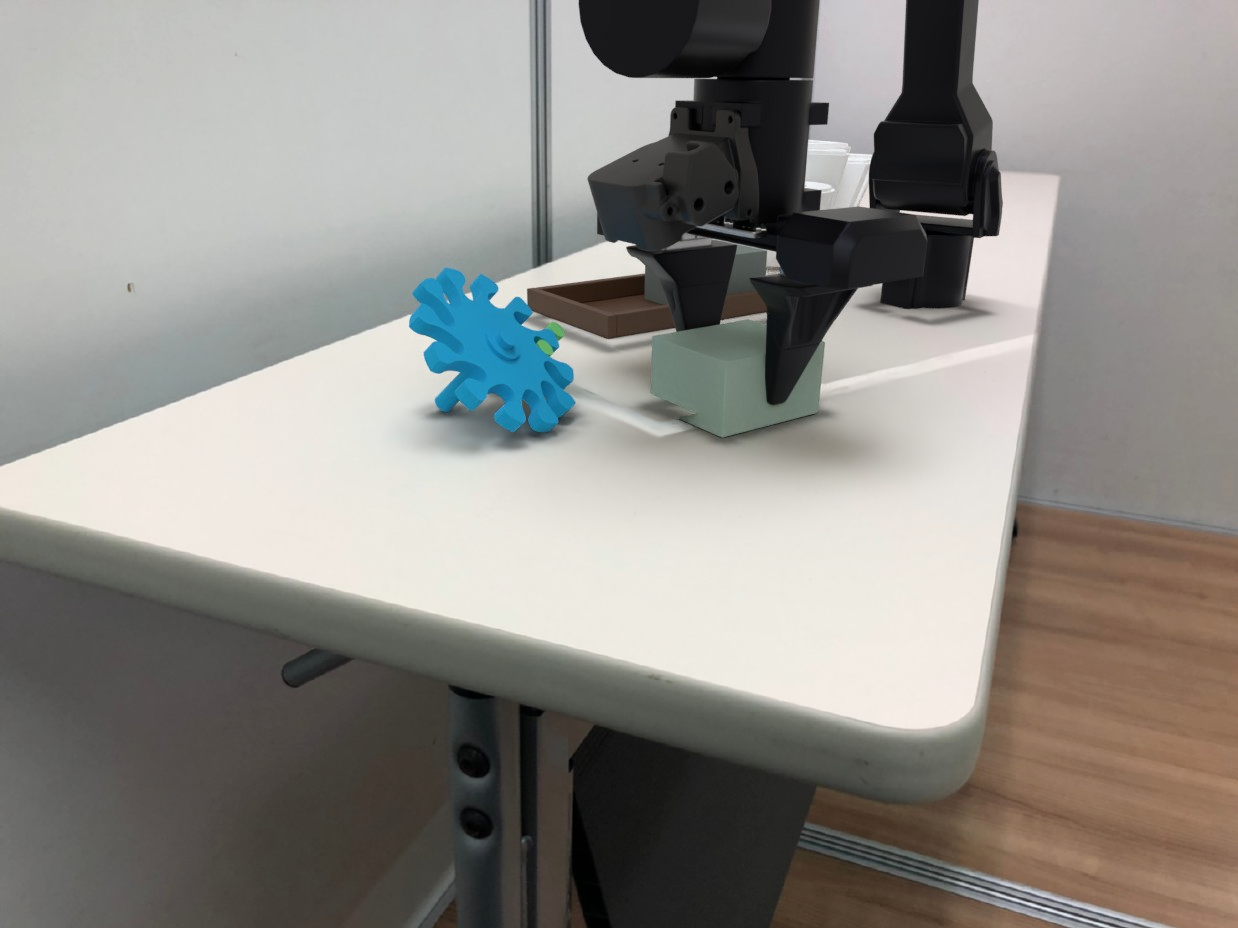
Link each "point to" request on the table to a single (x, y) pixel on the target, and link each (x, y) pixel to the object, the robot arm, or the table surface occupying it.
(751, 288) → the pad
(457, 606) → the table surface
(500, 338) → the gear
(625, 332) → the tray
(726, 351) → the pale green block
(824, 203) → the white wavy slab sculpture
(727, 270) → the robot arm
